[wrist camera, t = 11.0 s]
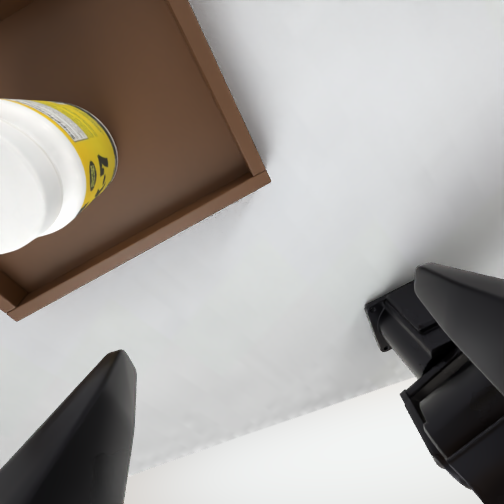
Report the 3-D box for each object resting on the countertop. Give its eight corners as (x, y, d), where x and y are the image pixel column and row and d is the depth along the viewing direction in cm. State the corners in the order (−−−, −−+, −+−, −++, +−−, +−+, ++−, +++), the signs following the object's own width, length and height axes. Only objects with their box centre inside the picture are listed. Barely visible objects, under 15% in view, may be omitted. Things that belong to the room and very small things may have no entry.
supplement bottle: (94, 211, 17) (19, 293, 9) (4, 160, 15) (-181, 214, 7) (136, 142, 16) (89, 175, 8) (45, 78, 14) (-126, 44, 6)
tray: (263, 174, 18) (271, 182, 16) (33, 301, 19) (16, 322, 17) (140, -88, 12) (132, -122, 10) (-187, 117, 13) (-249, 118, 11)
